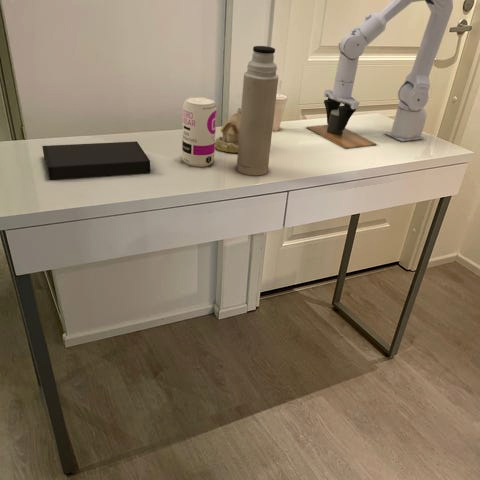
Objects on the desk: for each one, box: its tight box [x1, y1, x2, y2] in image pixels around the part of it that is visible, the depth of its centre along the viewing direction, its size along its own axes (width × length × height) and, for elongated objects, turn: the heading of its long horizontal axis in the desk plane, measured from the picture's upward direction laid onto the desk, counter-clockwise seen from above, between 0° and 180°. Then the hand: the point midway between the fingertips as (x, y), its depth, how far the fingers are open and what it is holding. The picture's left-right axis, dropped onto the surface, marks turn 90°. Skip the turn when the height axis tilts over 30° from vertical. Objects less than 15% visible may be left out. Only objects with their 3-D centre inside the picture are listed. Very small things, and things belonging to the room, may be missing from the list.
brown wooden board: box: [306, 124, 377, 150], centre depth 157 cm, size 12×20×1 cm, turn 29°
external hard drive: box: [41, 140, 151, 180], centre depth 121 cm, size 14×23×3 cm, turn 112°
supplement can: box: [181, 96, 218, 168], centre depth 125 cm, size 8×8×15 cm
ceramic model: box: [215, 107, 241, 153], centre depth 139 cm, size 14×11×10 cm
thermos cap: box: [327, 109, 343, 135], centre depth 157 cm, size 5×5×6 cm
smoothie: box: [272, 80, 288, 132], centre depth 153 cm, size 6×6×14 cm
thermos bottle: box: [236, 45, 279, 176], centre depth 120 cm, size 8×8×28 cm
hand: (335, 126), depth 158 cm, fingers closed on thermos cap, 5 cm apart
